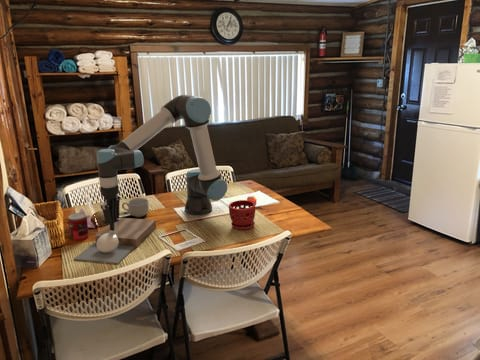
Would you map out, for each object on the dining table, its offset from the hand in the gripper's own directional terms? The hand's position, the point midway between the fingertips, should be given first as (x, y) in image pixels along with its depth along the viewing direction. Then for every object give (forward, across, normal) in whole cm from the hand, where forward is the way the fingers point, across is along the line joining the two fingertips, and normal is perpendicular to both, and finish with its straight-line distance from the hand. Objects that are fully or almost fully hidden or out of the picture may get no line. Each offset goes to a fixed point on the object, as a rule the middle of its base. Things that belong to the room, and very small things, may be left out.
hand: (114, 235), depth 174 cm
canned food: (+5, -6, -21) cm, 22 cm away
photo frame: (+6, -12, +27) cm, 30 cm away
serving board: (+5, -12, 0) cm, 13 cm away
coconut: (+5, -24, -21) cm, 32 cm away
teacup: (+5, -36, -7) cm, 38 cm away
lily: (+5, -14, -25) cm, 29 cm away
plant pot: (+5, -32, +52) cm, 61 cm away
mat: (+5, +8, -1) cm, 9 cm away
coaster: (+2, +5, 0) cm, 5 cm away
